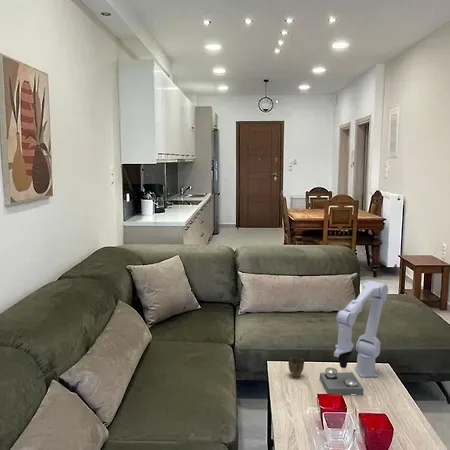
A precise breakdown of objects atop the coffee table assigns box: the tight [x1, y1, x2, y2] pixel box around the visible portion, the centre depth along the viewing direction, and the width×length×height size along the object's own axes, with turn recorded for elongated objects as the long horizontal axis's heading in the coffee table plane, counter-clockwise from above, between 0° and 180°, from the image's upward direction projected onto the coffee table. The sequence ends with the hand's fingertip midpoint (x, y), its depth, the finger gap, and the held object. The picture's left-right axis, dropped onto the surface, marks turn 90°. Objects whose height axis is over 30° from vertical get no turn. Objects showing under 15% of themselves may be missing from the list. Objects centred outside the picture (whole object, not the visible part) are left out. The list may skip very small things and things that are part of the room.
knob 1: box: [324, 366, 338, 379], centre depth 211 cm, size 5×5×4 cm
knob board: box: [319, 371, 364, 396], centre depth 208 cm, size 15×15×3 cm
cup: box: [287, 356, 305, 378], centre depth 217 cm, size 8×7×8 cm
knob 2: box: [345, 379, 357, 387], centre depth 204 cm, size 5×5×4 cm
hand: (343, 367), depth 206 cm, fingers closed
